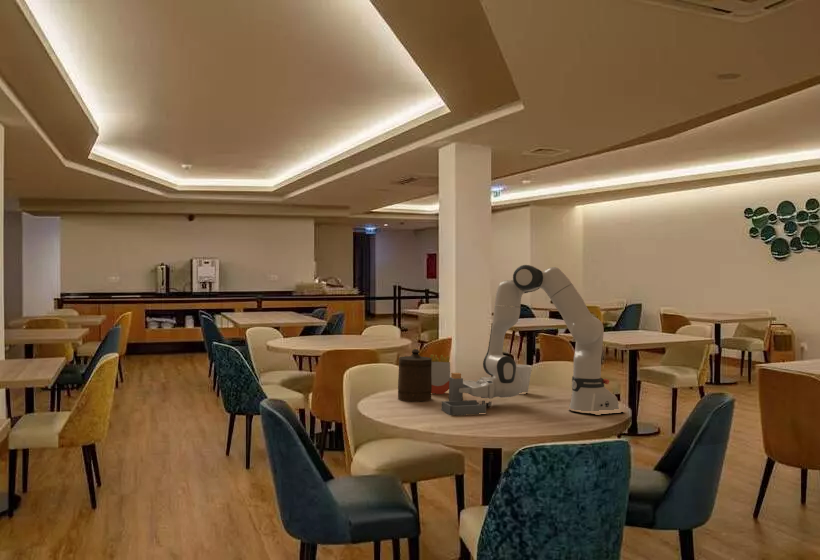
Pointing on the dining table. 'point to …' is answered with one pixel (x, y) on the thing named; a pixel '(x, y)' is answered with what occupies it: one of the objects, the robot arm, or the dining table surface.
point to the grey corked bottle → (455, 387)
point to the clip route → (486, 403)
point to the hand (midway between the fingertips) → (454, 388)
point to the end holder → (462, 407)
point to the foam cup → (524, 375)
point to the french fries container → (440, 374)
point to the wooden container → (414, 378)
